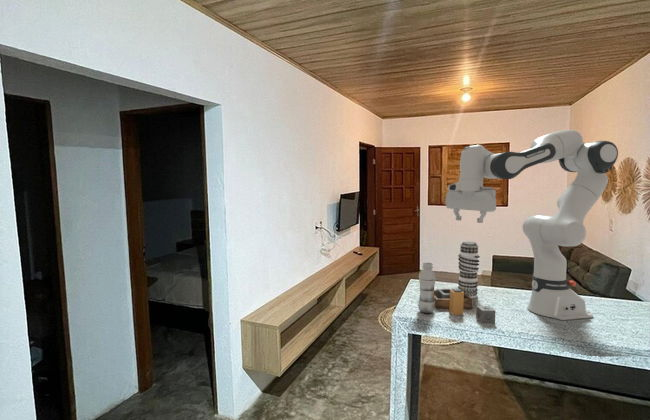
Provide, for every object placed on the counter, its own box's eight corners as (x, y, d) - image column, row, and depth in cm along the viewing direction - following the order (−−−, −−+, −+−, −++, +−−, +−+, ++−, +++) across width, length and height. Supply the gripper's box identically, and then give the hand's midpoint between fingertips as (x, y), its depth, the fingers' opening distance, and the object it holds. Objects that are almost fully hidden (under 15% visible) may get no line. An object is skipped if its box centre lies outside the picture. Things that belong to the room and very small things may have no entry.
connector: (459, 311, 145) (459, 288, 144) (463, 314, 141) (463, 291, 140) (449, 311, 145) (450, 288, 144) (453, 314, 141) (453, 291, 140)
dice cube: (481, 323, 132) (481, 310, 132) (476, 318, 137) (476, 305, 137) (494, 323, 132) (495, 310, 132) (489, 318, 137) (489, 305, 137)
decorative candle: (472, 291, 170) (474, 240, 168) (482, 298, 161) (484, 243, 159) (453, 292, 169) (455, 240, 167) (462, 298, 160) (464, 244, 158)
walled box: (459, 298, 160) (460, 286, 160) (472, 308, 147) (472, 296, 147) (426, 298, 160) (427, 287, 160) (436, 308, 147) (436, 296, 147)
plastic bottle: (436, 315, 140) (437, 265, 138) (418, 314, 141) (419, 264, 139) (434, 309, 146) (435, 262, 144) (417, 308, 147) (418, 261, 146)
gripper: (500, 187, 133) (498, 223, 134) (453, 186, 150) (451, 218, 151) (491, 187, 130) (489, 224, 131) (444, 186, 146) (442, 219, 147)
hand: (468, 221), depth 141 cm, fingers open, 8 cm apart
